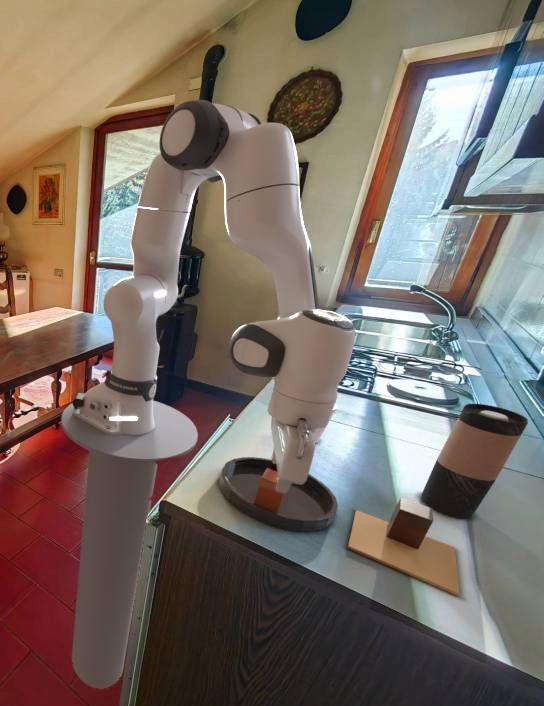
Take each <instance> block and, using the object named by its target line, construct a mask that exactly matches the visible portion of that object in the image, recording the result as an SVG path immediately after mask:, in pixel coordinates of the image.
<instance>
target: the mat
mask: <svg viewBox="0 0 544 706" xmlns="http://www.w3.org/2000/svg"><path fill="white" fill-rule="evenodd" d="M388 523H389V521H386V520H383V519H381V518H379V517H376V516H373V515H371V514H368V513H365V512H362V511H361V510H357V509H356V510H355V513H354V517H353V521H352V526H351V530H350V534H349V539H348V543H347V549H348V550H351V551H353V552H355V553H357V554H360V555H362V556H364V557H367V558H369V559H371V560H373V561H376V562H378V563H380V564H383V565H385V566H387V567H390V568H393V569H395V570H397V571H399V572H401V573H404V574H405V575H406V574H407V575H408V576H411V577H413V578H415V579H418V580H419V581H422V582H425V583H427V584H429V585H432V586H434V587H435V588H438V589H440V590H442V591H446V592H447V593H450V594H452V595H454V596H456V597H459V596H460V584H459V575H458V574H459V573H458V564H457V555H456V548H455V547H454V546H452V545H449V544H446V543H444V542H442V541H439V540H436V539H434V538H431V537H428V536H425V537H424V539H423V541H422V543H421V545H420V547H419V549H416V548H413V547H411V546H408V545H406V544H403V543H401V542H398V541H396V540H393V539H390V538H388V537H386V536H387V527H388Z"/></svg>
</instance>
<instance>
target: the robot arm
mask: <svg viewBox="0 0 544 706" xmlns="http://www.w3.org/2000/svg"><path fill="white" fill-rule="evenodd" d="M158 146H159V153H158V154H157V155H155V156H154V158H153V159H152V161H151V162H150V165H149V167H148V169H147V172H146V175H145V177H144V181H143V184H142V186H141V187H142V188H141V190H140V194H139V197H138V198H139V199H138V202H137V207H136V213H135V218H134V221H133V227H132V230H131V231H132V232H131V236H130V249H131V252H132V256H133V257H132V258H133V271H132V274H131V275H132V276H128V277H124V278H122V279H120V280H119V281H117V282H116V283H114V284H113V285H112V286H110V288H109V289H108V290H107V292H106V293H105V295H104V298H103V310H104V313H105V315H106V317H107V318H108V320H109V321H110V323H111V329H112V334H113V353H112V365H111V368H110V369H108V370H106V372H103V373H102V374H101V375H102V376H101V378H102V379H104V378H105V379H104V381H103V382H101V383H100V382H99V383H98V384H96V385H94V386H93V387H91V388H90V389H87V391H86V392H83V393H82V392H78V393H77V394H76V395H75V398H74V399H73V401H72V403H73V406H74V409H73V415H75V416H77V417H78V418H80V419H82V420H84V421H85V422H87V423H89V424H91V425H92V426H94V427H96V428H98V429H99V430H101V431H103V432H105V433H106V434H108V435H120V434H125V435H141V434H146V433H149V432H150V431H152V430H153V429H154V427H155V424H154V418H153V401H154V398H155V395H156V392H157V382H158V376H157V369H158V364H159V356H160V349H161V347H160V344H159V342H158V337H157V326H156V325H157V320H158V317H160V316H163V315H165V314H166V313H168V311H170V309H171V308H172V307H173V306H174V304H175V303H176V301H177V300H178V296H179V287H178V279H179V265H180V258H181V257H180V256H181V249H182V245H183V241H184V238H185V235H186V234H185V233H186V230H187V227H188V221H189V218H190V213H191V210H192V205H193V201H194V197H195V194H196V191H197V189H198V188H199V186H200V185H201V184H202V183H203V182H204V181H205V180H207V181H208V182H209V183H210V184H211V183H217V182H219V181H223V187H224V219H225V226H226V230H227V234H228V237H229V239H230V241H231V242H232V243H233V245H235V246H236V247H237V248H238V249H240V250H241V251H243V252H245V253H247V254H250V255H252V256H254V257H256V258H257V259H259V260H260V261H261V262H263V263H264V264H265V265H266V266H267V267H268V268H269V269H270V271H271V272H272V275H273V278H274V284H275V285H274V287H275V292H276V300H277V308H278V317H277V318H276V319H275V318H274V319H269V320H268V319H267V320H261V321H254V322H250V323H249V322H248V323H247V324H243V325H241V326H239V327H238V328H237V329H236V330H235V331H234V332H233V334H232V335H231V338H230V341H229V344H228V354H229V357H230V360H231V362H232V364H233V366H234V367H235V368H236V369H237V370H238V371H240V372H241V373H243V374H246V375H251V376H255V377H260V378H271V379H272V380H273V381H274V383H273V388H272V390H271V394H270V399H269V403H268V406H267V413H268V414H269V415H270V417H271V422H270V431H271V437H272V444H273V447H272V449H273V450H272V454H271V460H272V463H274V464H277V471H278V478H277V480H276V483H275V489H276V491H277V492H281V493H287V492H288V489H289V486H290V485H291V484H292V483H294V484H299V485H302V484H304V483H305V482H306V480H307V477H308V474H310V470H311V468H312V467H311V466H312V463H313V460H314V456H315V450H316V443H315V440H314V437H313V434H312V433H314V432H315V431H316V429H319V428H324V427H326V426H329V423H330V421H331V419H330V417H331V414H332V411H333V408H334V406H335V405H336V402H337V399H338V389H339V385H340V383H341V381H342V380H343V378H344V377H345V376H346V374H347V371H348V368H349V366H350V365H349V364H350V361H351V358H352V354H353V350H354V345H355V340H356V328H355V325H354V323H353V321H351V320H350V319H348V317H345V316H343V315H342V314H339V313H337V312H334V311H330V310H323V309H320V304H319V296H318V287H317V279H316V272H315V264H314V256H313V250H312V246H311V241H310V239H309V235H308V233H307V231H306V228H305V225H304V220H303V215H302V214H303V213H302V208H301V197H300V196H301V195H300V170H299V162H298V154H297V150H296V149H297V148H296V145H295V141H294V137H293V134H292V131H291V130H290V128H289V127H288V126H287V125H284V124H283V123H280V122H266V123H265V122H262V120H261V119H260V118H258V117H257V116H256V115H254V114H252V113H247V112H245V111H244V110H242V109H240V108H238V107H236V106H233V105H228V104H225V105H224V104H220V103H215V102H210V101H208V100H206V99H193V100H187V101H185V102H182V103H180V104H179V105H177V106H176V107H175V108H174V109H173V110H172V111H171V112H170V113H169V114H168V116H167V117H166V119H165V121H164V123H163V126H162V128H161V131H160V134H159V145H158ZM331 418H332V417H331ZM329 420H330V421H329ZM326 428H327V427H326Z"/></svg>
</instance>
